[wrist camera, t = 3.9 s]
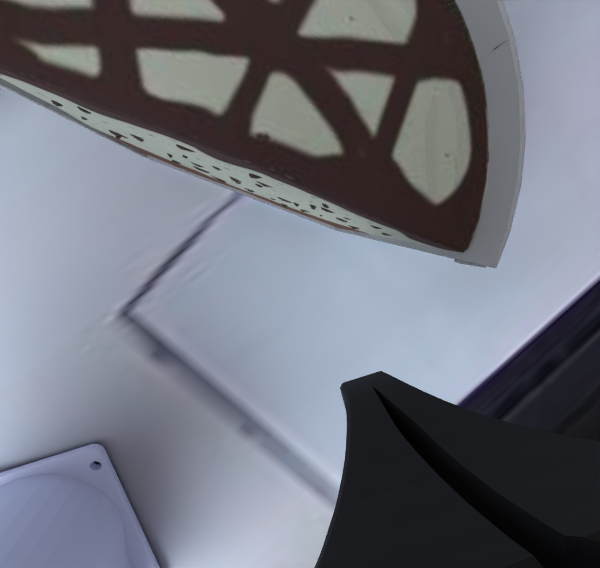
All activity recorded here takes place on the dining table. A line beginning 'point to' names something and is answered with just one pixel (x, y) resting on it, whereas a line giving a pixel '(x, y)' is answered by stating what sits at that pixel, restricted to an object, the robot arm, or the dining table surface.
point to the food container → (300, 104)
